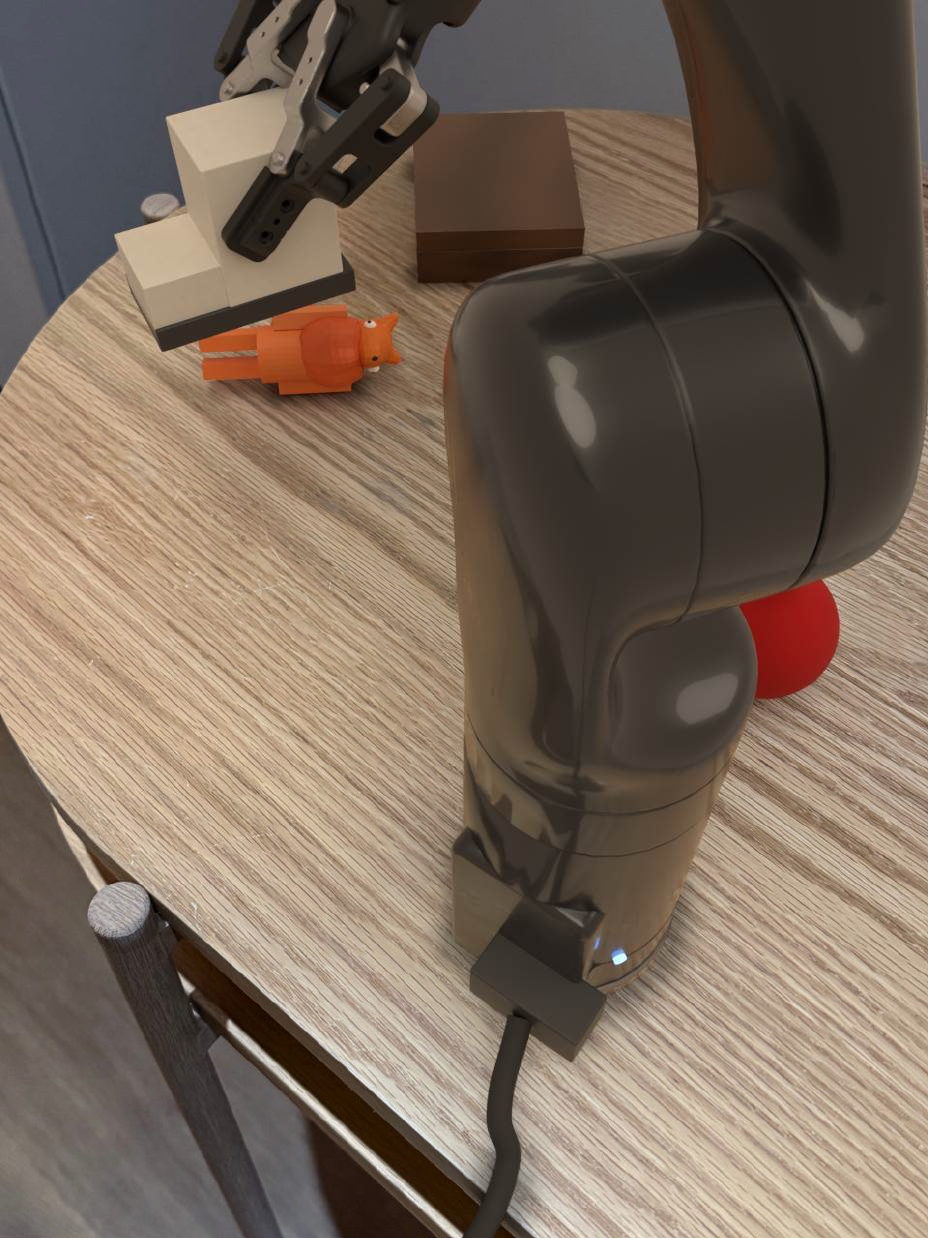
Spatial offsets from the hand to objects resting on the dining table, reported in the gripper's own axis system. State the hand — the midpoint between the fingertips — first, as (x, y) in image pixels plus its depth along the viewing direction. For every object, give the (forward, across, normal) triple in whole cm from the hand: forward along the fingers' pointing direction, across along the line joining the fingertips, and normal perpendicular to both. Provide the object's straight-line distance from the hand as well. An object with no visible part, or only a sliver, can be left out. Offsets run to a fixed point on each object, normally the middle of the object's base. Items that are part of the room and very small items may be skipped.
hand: (220, 217), depth 51 cm
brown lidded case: (-3, +18, -30) cm, 35 cm away
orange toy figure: (+9, +9, -17) cm, 21 cm away
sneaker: (+3, 0, -3) cm, 4 cm away
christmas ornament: (+1, -22, -26) cm, 34 cm away
